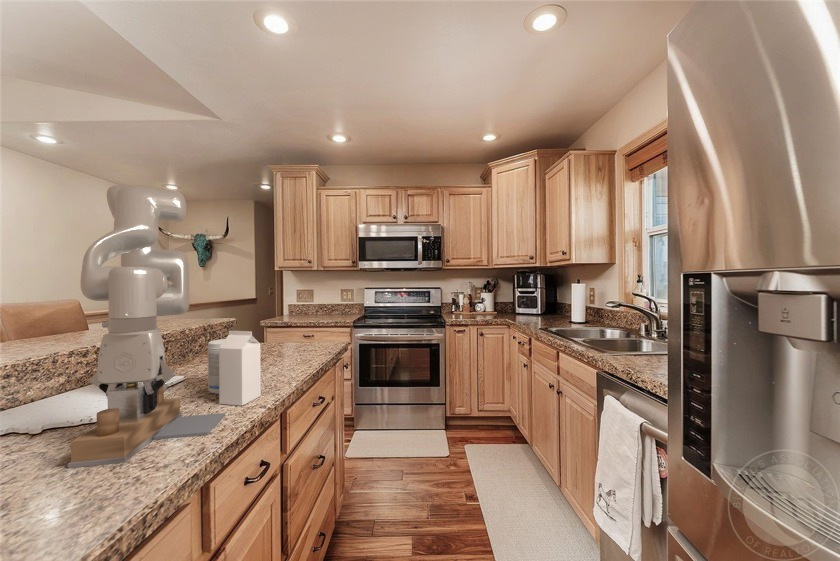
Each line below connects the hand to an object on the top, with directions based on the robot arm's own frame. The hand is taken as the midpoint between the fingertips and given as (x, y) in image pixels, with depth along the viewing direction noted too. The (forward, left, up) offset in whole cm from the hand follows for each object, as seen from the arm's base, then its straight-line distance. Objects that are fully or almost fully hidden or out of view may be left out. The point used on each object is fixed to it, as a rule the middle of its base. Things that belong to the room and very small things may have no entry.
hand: (134, 411), depth 68 cm
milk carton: (-18, +15, -6) cm, 24 cm away
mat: (-3, +9, -5) cm, 11 cm away
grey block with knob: (0, 0, -1) cm, 1 cm away
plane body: (0, 0, -5) cm, 5 cm away
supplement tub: (-29, +8, -6) cm, 31 cm away
